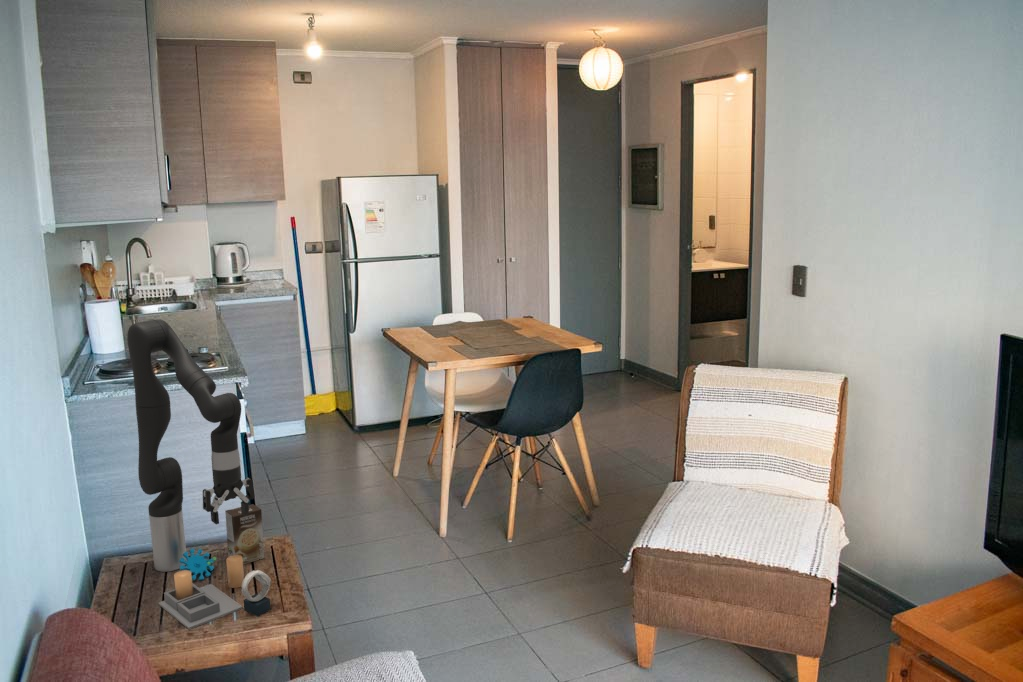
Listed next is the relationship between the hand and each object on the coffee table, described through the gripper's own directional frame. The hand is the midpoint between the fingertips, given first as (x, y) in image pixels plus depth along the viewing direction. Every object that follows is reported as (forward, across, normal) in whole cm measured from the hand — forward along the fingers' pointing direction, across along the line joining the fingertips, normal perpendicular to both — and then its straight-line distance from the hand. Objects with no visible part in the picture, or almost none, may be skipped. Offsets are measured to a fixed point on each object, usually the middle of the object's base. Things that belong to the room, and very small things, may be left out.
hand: (230, 519), depth 237 cm
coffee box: (+20, -10, -13) cm, 26 cm away
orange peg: (+20, 0, 0) cm, 20 cm away
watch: (+20, +3, +18) cm, 27 cm away
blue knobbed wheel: (+20, +5, -13) cm, 25 cm away
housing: (+20, +13, +5) cm, 24 cm away
